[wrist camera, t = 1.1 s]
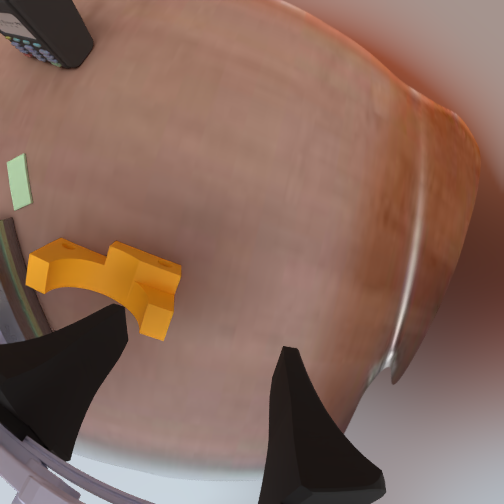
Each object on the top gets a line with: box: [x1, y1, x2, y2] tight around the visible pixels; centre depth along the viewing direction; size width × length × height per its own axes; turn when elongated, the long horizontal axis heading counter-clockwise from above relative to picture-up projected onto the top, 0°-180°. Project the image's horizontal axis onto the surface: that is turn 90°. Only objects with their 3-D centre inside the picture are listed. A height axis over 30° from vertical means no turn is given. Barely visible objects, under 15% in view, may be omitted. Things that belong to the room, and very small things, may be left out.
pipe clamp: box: [26, 238, 181, 341], centre depth 20 cm, size 12×4×6 cm, turn 66°
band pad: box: [7, 154, 33, 211], centre depth 18 cm, size 2×5×1 cm, turn 11°
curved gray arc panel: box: [0, 218, 52, 344], centre depth 18 cm, size 3×14×5 cm, turn 11°
